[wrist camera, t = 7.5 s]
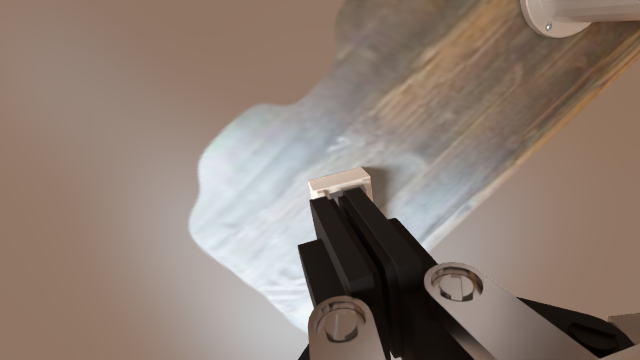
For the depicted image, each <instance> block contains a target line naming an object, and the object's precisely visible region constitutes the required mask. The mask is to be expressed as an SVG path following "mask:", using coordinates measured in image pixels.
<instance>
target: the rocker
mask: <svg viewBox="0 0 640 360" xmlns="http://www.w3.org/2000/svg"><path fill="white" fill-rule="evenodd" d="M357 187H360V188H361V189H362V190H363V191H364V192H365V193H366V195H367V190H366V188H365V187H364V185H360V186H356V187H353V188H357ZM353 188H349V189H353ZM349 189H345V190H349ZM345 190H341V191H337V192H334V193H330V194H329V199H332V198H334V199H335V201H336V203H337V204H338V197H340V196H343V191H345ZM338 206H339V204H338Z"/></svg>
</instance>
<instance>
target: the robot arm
mask: <svg viewBox="0 0 640 360" xmlns="http://www.w3.org/2000/svg"><path fill="white" fill-rule="evenodd" d="M520 4H521V9H522V13H523V15H524V18H525V20H526V22H527V23H528V24H529V26H530V27H531V28H532V29H533V30H534V31H535V32H536V33H538V34H540V35H542V36H544V37H550V38H563V37H568V36H571V35H574V34H576V33H578V32H580V31H582V30H583V29H585V28H586V27H588V26H589V25H590V24H591V23H592V22H605V21H632V20H640V0H520ZM338 204H339V206H338ZM338 204H337V203H336V201H335V199H334V198H332V199H328V198H327V196H323V197H319V198H315V199H311V200H310V207H311V212H312V217H313V222H314V227H315V231H316V236H317V240H314V241H311V242H307V243H304V244H300V245H298V250H299V255H300V259H301V263H302V267H303V271H304V275H305V279H306V282H307V286H308V290H309V293H310V296H311V300H312V303H313V306H314V310H313V311H312V313H311V315H310V317H309V321H308V337H309V344H308V346H307V347H306V349H305V350H304V351H303V353H302V355H301V356H300V357H299V359H298V360H391V356H390V351H391V353H392V355H393V357H394V358H398V357H401V359H402V360H640V313H634V314H625V315H617V316H616V315H615V316H608V318H607V321H604V320H602V319H599V318H597V317H594V316H591V315H588V314H584V313H579V312H576V311H572V310H568V309H563V308H559V307H555V306H551V305H547V304H543V303H539V302H535V301H531V300H527V299H523V298H519V297H515V296H514V295H512V294H511V293H510V292H508V291H507V290H505V289H504V288H503V287H501V286H500V285H499V284H497V283H496V282H494V281H493V280H492V279H491V278H489V277H488V276H486V275H485V274H484V273H482V272H481V271H479V270H478V269H476V268H474V267H472V266H469V265H466V264H463V263H455V262H448V263H442V264H437V263H436V261H435V260H434V259H433V258H432V257H431V256H430V255H429V254H428V252H427V251H426V250H425V249H424V248H423V247H422V246H421V245H420V244H419V242H418V241H417V240H416V239H415V238H414V237H413V236H412V235H411V234H410V232H409V231H408V230H407V229H406V228H405V227H404V226H403V225H402V223H401V222H400V221H399V220H398V219H396V218H392V219H388V220H387V218H386V217H385V216H384V215H383V214H382V212H381V211H380V210H379V209H378V208H377V207H376V205H375V204H374V203H373V202H372V201H371V199H370V198H369V197H368V196H367V195H366V193H365V192H364V191H363V190H362V189H361V188H360V187H357V188H353V189H349V190H345V191H343V196H340V197H338Z"/></svg>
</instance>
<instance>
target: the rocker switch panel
mask: <svg viewBox="0 0 640 360" xmlns="http://www.w3.org/2000/svg"><path fill="white" fill-rule="evenodd" d="M308 183H309V188H310V193H311V198H312V199H315V198H319V197H323V196H327V198H328V199H329V194H330V193H334V192H337V191H341V190H345V189H349V188H353V187H356V186H360V185H364V187H365V188H366V190H367V196H368V197H369V198H370V199H371V201H372V202H373V197H372V188H371V179H370V176H369V175H368V174H367V173H366V171H365V170H364V169H363V168H362V167H360V168H356V169H352V170H348V171H344V172H340V173H336V174H332V175H329V176H325V177H321V178H317V179H313V180H309V181H308Z"/></svg>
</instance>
